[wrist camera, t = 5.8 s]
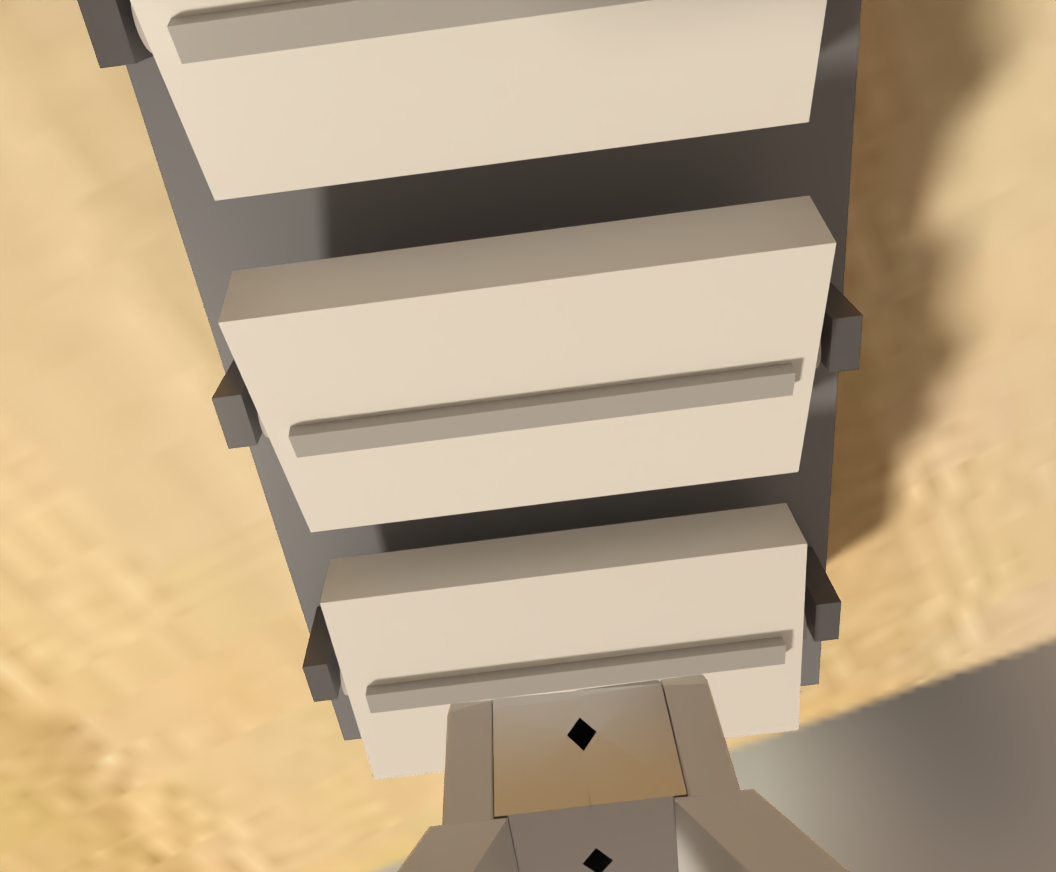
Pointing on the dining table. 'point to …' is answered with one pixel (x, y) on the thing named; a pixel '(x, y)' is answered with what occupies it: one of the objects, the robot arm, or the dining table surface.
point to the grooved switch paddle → (570, 623)
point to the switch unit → (503, 209)
